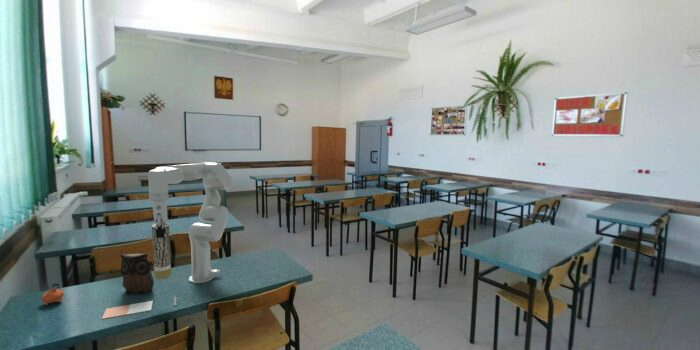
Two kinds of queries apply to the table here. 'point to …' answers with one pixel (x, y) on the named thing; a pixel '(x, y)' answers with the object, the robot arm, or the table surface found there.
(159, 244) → the birch log
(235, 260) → the table surface
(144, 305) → the board
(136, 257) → the brown owl figurine
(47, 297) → the pot
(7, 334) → the table surface
